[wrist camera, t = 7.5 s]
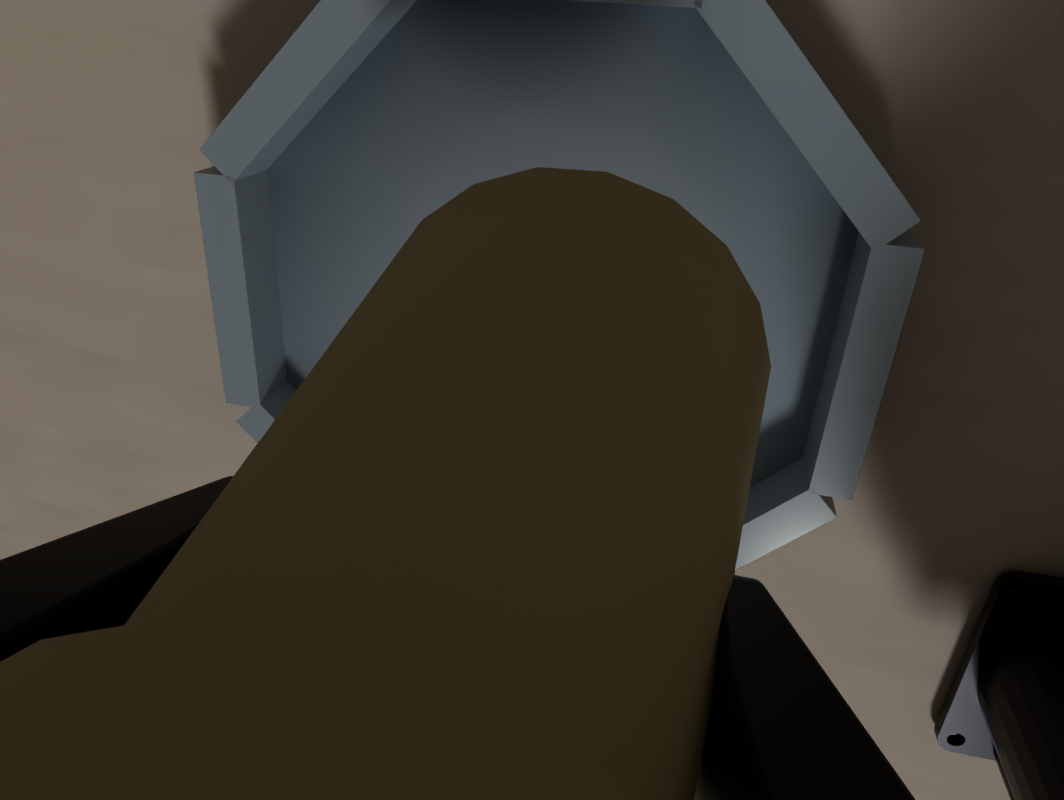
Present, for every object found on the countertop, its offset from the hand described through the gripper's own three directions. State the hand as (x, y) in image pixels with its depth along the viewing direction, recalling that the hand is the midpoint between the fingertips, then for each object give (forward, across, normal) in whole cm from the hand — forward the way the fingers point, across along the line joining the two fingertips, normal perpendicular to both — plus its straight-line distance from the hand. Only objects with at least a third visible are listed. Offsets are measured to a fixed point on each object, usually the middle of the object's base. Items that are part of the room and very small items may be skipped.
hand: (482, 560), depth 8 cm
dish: (+13, +2, +2) cm, 13 cm away
